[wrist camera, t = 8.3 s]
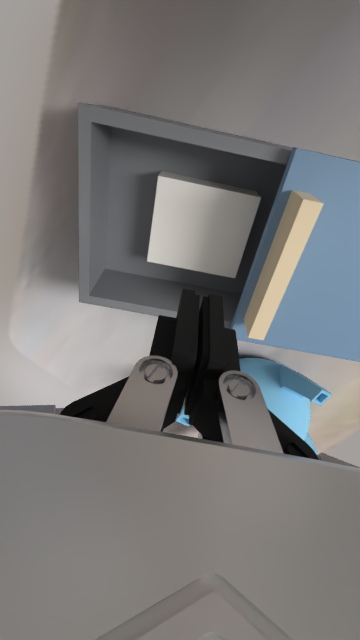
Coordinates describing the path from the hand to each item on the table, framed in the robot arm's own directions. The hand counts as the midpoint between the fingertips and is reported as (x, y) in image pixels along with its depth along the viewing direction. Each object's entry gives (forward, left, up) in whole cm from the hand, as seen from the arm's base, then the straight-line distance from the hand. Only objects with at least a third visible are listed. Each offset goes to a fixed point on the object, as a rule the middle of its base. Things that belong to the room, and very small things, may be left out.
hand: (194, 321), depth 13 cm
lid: (-14, +1, -11) cm, 17 cm away
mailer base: (-1, +1, -17) cm, 17 cm away
